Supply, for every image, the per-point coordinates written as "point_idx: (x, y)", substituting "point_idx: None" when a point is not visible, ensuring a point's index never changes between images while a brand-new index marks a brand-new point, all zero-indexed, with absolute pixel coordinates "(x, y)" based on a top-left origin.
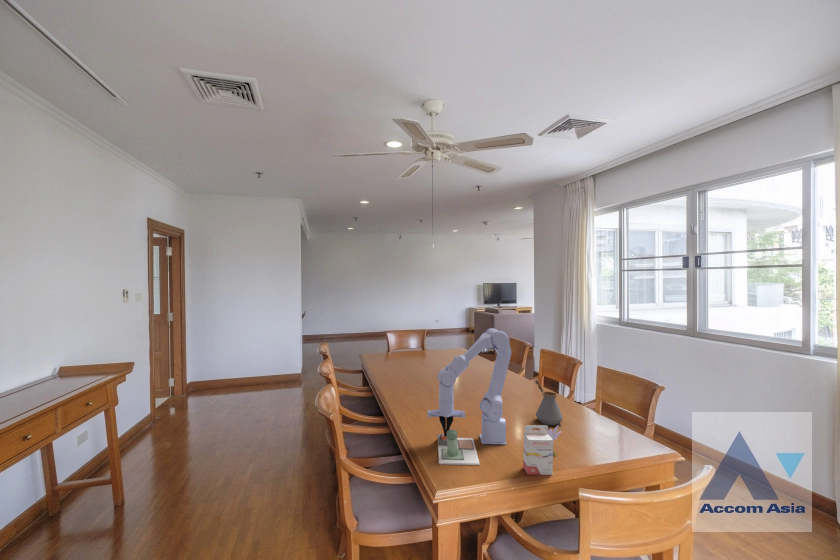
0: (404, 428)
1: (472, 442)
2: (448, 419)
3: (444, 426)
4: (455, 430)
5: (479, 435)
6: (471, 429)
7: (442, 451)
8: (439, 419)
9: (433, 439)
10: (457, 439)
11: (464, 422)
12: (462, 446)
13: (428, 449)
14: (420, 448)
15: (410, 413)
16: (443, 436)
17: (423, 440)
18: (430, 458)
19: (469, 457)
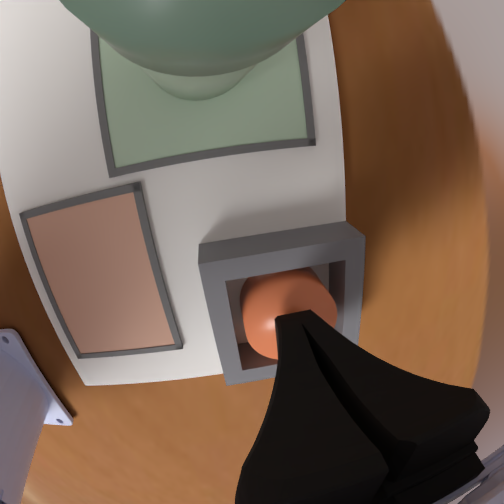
0: (470, 377)
1: (65, 330)
2: (350, 490)
3: (363, 373)
4: (87, 14)
5: (68, 416)
6: (140, 463)
7: (303, 88)
8: (486, 420)
9: (366, 327)
10: (186, 356)
11: (193, 495)
12: (115, 239)
13: (409, 161)
14: (453, 173)
15: None
16: None
17: (427, 294)
18: (381, 16)
19: (43, 54)
